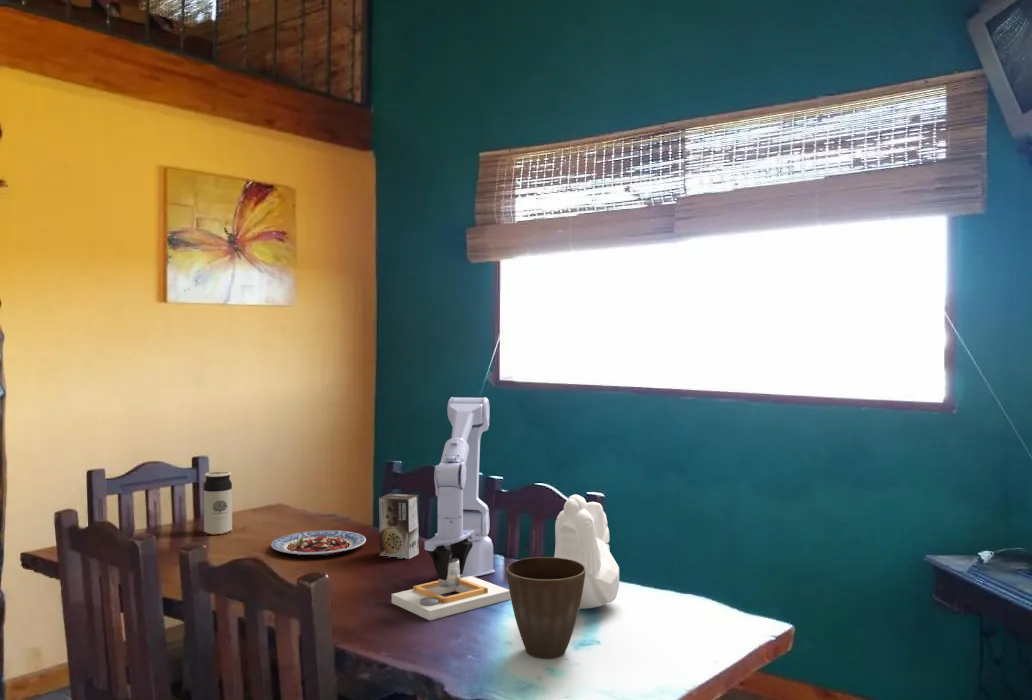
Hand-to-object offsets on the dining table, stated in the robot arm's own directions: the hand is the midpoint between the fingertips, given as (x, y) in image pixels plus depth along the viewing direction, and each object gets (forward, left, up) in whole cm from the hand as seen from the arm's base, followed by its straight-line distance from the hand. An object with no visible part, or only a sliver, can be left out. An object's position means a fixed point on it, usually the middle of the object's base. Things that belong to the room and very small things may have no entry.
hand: (450, 576), depth 189 cm
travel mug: (+16, -98, -6) cm, 99 cm away
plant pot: (+4, +36, -6) cm, 37 cm away
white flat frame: (0, 0, -5) cm, 5 cm away
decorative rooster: (-24, +20, -6) cm, 32 cm away
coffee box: (-12, -41, -6) cm, 43 cm away
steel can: (0, 0, -2) cm, 2 cm away
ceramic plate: (+1, -62, -6) cm, 62 cm away
